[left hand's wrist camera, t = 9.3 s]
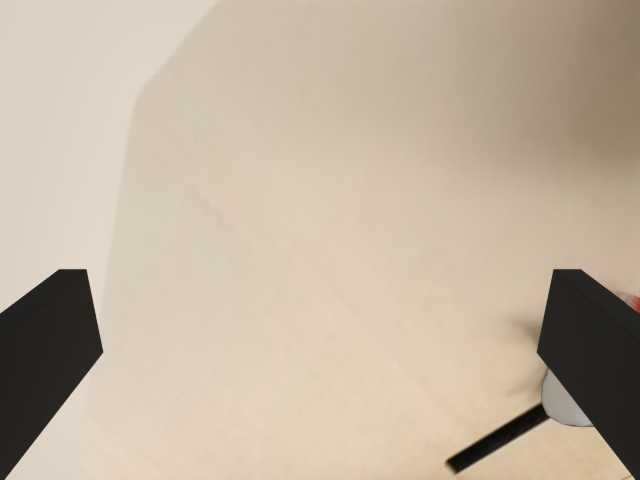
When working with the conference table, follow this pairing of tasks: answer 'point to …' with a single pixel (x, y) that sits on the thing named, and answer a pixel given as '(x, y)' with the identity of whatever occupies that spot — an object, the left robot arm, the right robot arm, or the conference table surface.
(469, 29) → the conference table surface
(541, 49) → the conference table surface
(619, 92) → the conference table surface
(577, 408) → the fish
